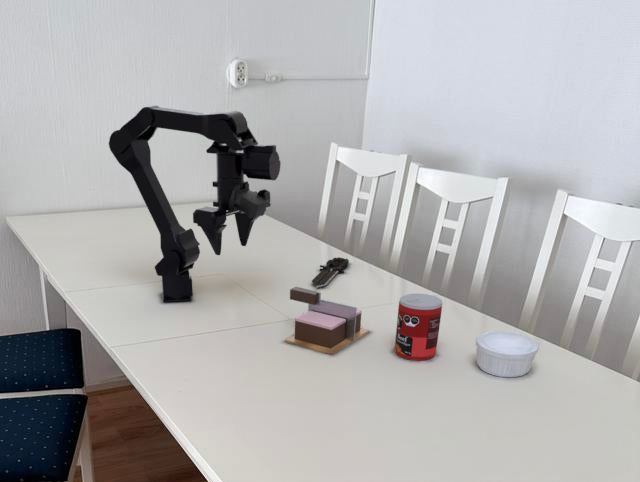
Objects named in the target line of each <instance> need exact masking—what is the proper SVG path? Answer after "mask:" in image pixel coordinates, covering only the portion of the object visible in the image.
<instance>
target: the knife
mask: <svg viewBox="0 0 640 482" xmlns="http://www.w3.org/2000/svg"><path fill="white" fill-rule="evenodd" d="M349 263H350V260H349V259H348V258H344V257H332V259H328V260H327V261H326V264H325V265H322V264H320V265H319V271H320V272H319V273H317V275H316V276H315V277H314V278H313V279H312V280H311V283H312V284H313V285H314V286H315V288H321V287H325V286H327V285H328V284H329V283H330V282H331V280H333V278H334V277H335V276H336V275H337V274H338V275H339V274H345V270H346V269H347V268H348V266H349V265H348V264H349Z"/></svg>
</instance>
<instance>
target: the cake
mask: <svg viewBox="0 0 640 482" xmlns="http://www.w3.org/2000/svg"><path fill="white" fill-rule="evenodd" d="M362 311H363V310H362V309H359V308H357V312H356V326H355V333H357V332H359V331H360V328H361V326H362V325H361V324H362ZM345 325H346V319H343V318H338V317H334V316H330V315H326V314H322V313H318V312H314V311H308V310H307V311H306V312H304V313H303V314H300V315H298V316H296V317H295V320H294V335H295V339H297V340H301V341H304V342H308V343H312V344H315V345H319V346H323V347H327V348H330V349H331V348H332V347H334V346H336V345H337V344H339V343H341V342H342V341H344V340H345Z"/></svg>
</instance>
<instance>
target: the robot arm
mask: <svg viewBox="0 0 640 482" xmlns="http://www.w3.org/2000/svg"><path fill="white" fill-rule="evenodd" d="M158 129H164V130H171V131H179V132H186V133H193V134H198V135H201V136H203V137H205V138H206V139H208V140H210V141H213V142H212V144H211V145H210V146H209V147H208V148H207V149H206V150H205V151H206V152H205V153H207V154H212V155H213V154H214V155H215V162H216V164H215V165H216V180H214V181H212V187H213V188H216V200H214V201H212V207H211V206H203V207H200V208H196V209H195V210H194V211H193V212H192V223H193V224H196V225H197V227H200V228H201V230H202V231H203V233H204V235H205V236H206V238H207V240H208V242H209V244H210V246H211V248H212V250H213V252H214V254H215V256H220V255H221V253H222V242H223V231H224V230H225V229H226V228H227V226H228V225H227V224H226V220H227V217H229V216H232V215H234V219H235V224H236V229H237V234H238V238H239V242H240V245H241V246H242V247H246V246H247V244H248V241H249V238H250V235H251V232H252V228H253V225H254V223H255V221H256V220H258V219H259V218H260V217H263V216H264V215H265V213H266V212H267V208H270V207H271V205H272V204H271V192H270V191H269V190H268V189H266V188H264V189H263V188H262V189H260V190H259V191H256V190H254V191H252V190H250V183H249V181H248V180H245V177H247V178H248V179H253V180H265V181H276V180H277V179H278V177H279V176H280V172H281V160H280V155H279V153H278V151H277V145H276V144H259V142H258V140H257V139H256V137H255V136H254V134H253V132H252V130H250V128H249V126H248V121H247V118H246V117H245V115H244V113H242V112H241V111H238V110H228V111H218V112H217V111H216V112H208V113H204V112H198V111H189V110H182V109H176V108H167V107H161V106H158V105H149V106H143V107H142V108H141V109H140V110H139V111H138V112H137V113H136V114H135V116H134V117H132V118H131V119H130V120H128V121H127V122H126V123H125V124H123V125H122V126H121V127H120V128H119V129H117V130H114V131H113V132H112V133H111V134H110V136H109V141H108V148H109V151H110V152H111V153H112V155H113V157H114V159H116V161H117V163H118V164H119V165H120V166H121V167H122V168H123V169H125V170H126V171H127V172H128V173H129V174H130V176H131V177H132V179H133V181H134V183H135V185H136V187H137V189H138V192H139V193H140V196H141V198H142V200H143V202H144V204H145V205H146V208H147V210H148V212H149V214H150V216H151V218H152V220H153V222H154V224H155V227H156V228H157V231H158V232H159V236H160V237H159V238H160V241H159V242H160V251H161V253H162V258H161V259H160V260H159V261H158V262H157V263H156V264H155V266H154V270H155V273H156V275H157V276H158V277H161V287H162V291H161V296H162V302H163V303H177V302H191V301H192V297H193V295H194V294H193V293H194V291H193V277H192V276H191V275H190V270H192V269H193V268H194V265H195V263H196V262H197V261H198V260H199V257H200V254H201V250H200V247H199V246H200V245H201V243H200V242H199V240H197V238H196V235H195V232H194V230H193V229H192V228H189V229H185V228H184V227H183V226H182V225H181V224H180V222H179V220H178V218H177V216H176V214H175V212H174V210H173V208H172V206H171V204H170V202H169V200H168V197H167V195H166V193H165V191H164V189H163V187H162V184H161V183H160V181H159V178H158V176H157V175H156V172H155V171H154V168H153V166H152V163H151V161H152V158H151V153H152V151H151V147H150V145H149V144H150V143H149V141H150V140H151V139H152V138H153V137H154V135H155V134H156V131H157V130H158Z"/></svg>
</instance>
